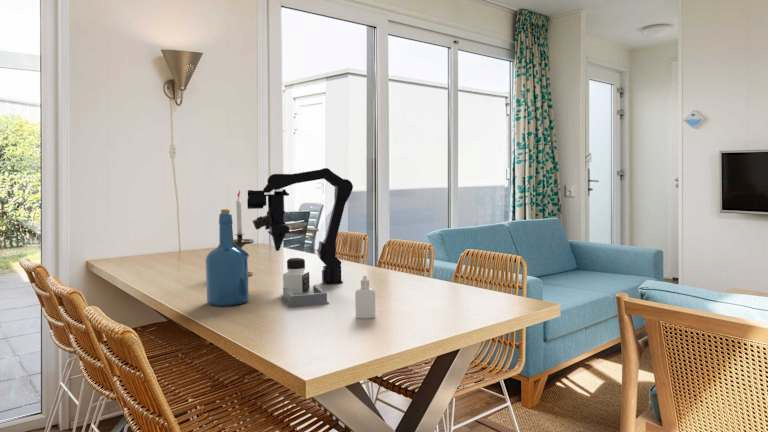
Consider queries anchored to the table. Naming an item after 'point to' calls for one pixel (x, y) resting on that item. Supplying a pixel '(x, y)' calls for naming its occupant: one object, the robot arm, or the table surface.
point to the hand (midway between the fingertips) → (277, 250)
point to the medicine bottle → (296, 277)
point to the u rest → (305, 298)
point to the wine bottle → (227, 268)
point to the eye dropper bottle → (365, 300)
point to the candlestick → (239, 240)
